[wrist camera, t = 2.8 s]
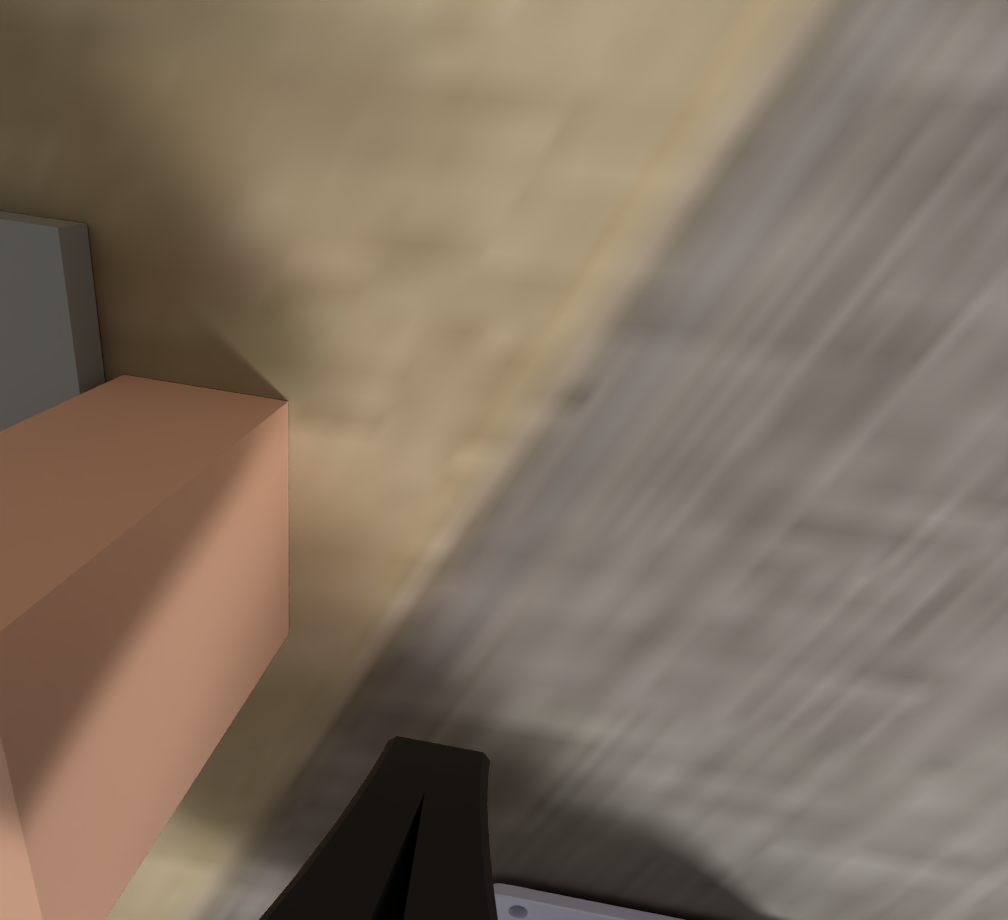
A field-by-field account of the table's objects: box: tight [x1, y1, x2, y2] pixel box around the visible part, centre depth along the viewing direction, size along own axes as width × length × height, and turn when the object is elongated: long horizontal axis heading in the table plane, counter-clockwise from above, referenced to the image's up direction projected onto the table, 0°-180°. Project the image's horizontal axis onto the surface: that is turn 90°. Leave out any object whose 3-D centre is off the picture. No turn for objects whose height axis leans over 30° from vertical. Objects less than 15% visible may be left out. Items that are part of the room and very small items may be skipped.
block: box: [0, 375, 289, 920], centre depth 12 cm, size 4×6×8 cm, turn 173°
